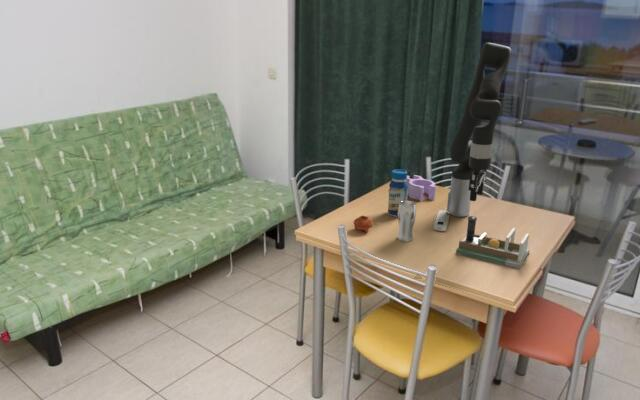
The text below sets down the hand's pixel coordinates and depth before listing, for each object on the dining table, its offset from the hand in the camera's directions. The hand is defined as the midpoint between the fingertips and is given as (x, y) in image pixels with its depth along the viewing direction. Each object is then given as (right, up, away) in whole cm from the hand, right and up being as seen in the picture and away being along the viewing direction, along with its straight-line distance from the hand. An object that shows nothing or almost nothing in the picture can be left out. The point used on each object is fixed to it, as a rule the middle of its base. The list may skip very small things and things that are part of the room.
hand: (476, 197), depth 193 cm
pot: (-40, -14, +22) cm, 48 cm away
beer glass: (-24, -17, +14) cm, 33 cm away
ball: (+7, -18, +1) cm, 19 cm away
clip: (-9, +2, +66) cm, 66 cm away
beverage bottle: (-24, -7, +40) cm, 47 cm away
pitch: (+7, -21, +3) cm, 22 cm away
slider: (+1, -18, +6) cm, 19 cm away
